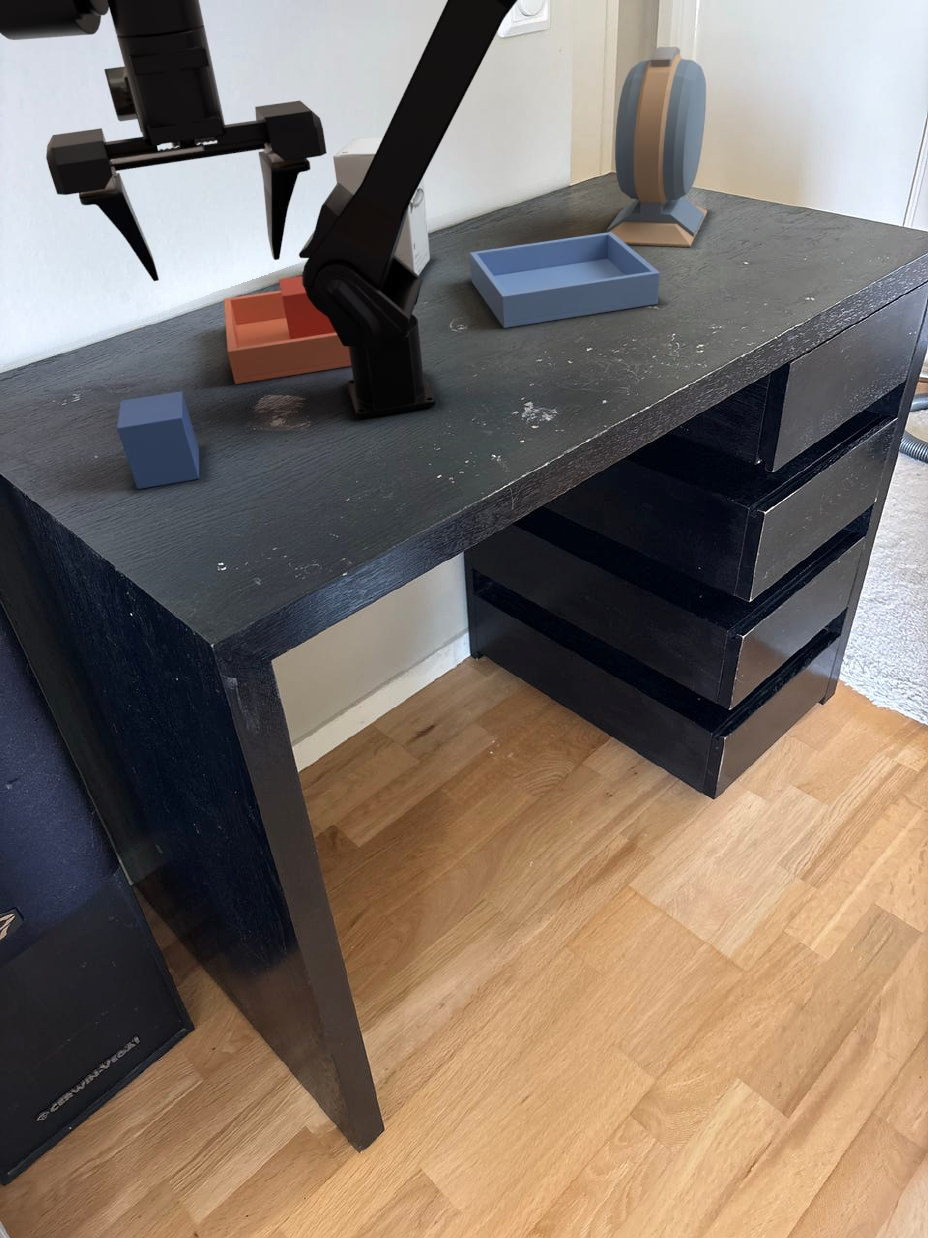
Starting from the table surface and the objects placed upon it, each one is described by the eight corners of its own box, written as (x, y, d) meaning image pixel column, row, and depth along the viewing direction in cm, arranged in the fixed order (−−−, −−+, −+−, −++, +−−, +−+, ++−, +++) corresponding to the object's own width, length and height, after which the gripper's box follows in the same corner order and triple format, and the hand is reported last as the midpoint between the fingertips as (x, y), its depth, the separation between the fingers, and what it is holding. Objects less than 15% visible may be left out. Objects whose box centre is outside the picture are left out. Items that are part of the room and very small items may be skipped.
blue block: (199, 478, 68) (181, 417, 65) (137, 489, 68) (116, 427, 65) (199, 450, 72) (182, 390, 69) (140, 460, 71) (120, 400, 68)
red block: (341, 342, 85) (332, 288, 82) (292, 350, 84) (282, 295, 81) (335, 324, 88) (327, 271, 85) (288, 331, 88) (278, 278, 85)
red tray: (406, 357, 83) (402, 324, 81) (235, 384, 81) (227, 351, 79) (383, 305, 93) (379, 275, 91) (230, 328, 91) (223, 298, 89)
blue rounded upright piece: (626, 207, 112) (633, 36, 101) (708, 209, 109) (724, 34, 98) (598, 246, 102) (603, 61, 91) (688, 249, 99) (704, 59, 88)
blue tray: (657, 304, 88) (660, 272, 86) (503, 328, 86) (502, 296, 84) (610, 260, 98) (611, 231, 96) (471, 281, 96) (469, 252, 94)
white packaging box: (416, 284, 97) (403, 152, 89) (349, 284, 98) (329, 154, 90) (432, 260, 102) (421, 134, 94) (368, 260, 104) (351, 136, 96)
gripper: (279, 2, 69) (315, 221, 79) (18, 33, 65) (90, 258, 75) (307, 17, 61) (343, 259, 71) (10, 53, 57) (92, 304, 67)
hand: (216, 268), depth 71 cm, fingers open, 9 cm apart
